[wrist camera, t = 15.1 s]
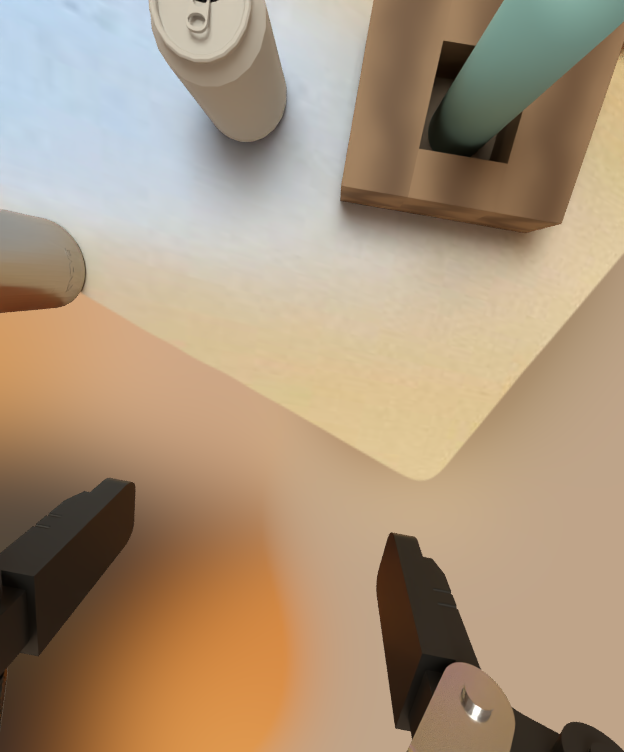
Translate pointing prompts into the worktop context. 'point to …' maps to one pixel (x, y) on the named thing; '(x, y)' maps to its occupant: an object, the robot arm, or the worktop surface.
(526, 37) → the peg
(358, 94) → the well block
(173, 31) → the can
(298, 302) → the worktop surface
